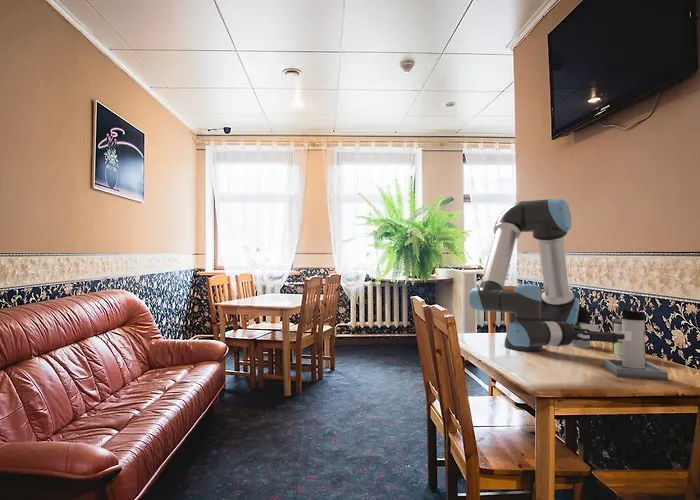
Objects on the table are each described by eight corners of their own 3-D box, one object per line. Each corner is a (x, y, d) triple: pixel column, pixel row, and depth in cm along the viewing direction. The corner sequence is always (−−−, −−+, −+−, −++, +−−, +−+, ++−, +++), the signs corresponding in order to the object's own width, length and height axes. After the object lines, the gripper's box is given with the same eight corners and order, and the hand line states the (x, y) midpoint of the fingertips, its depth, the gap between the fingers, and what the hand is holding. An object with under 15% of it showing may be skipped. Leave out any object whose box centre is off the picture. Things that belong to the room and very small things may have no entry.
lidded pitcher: (564, 343, 186) (564, 309, 186) (598, 344, 185) (598, 310, 185) (573, 347, 177) (573, 312, 178) (608, 348, 176) (608, 313, 176)
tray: (616, 376, 133) (616, 368, 133) (602, 365, 146) (602, 358, 146) (667, 380, 129) (667, 372, 129) (648, 369, 143) (648, 361, 143)
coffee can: (606, 353, 167) (606, 318, 167) (634, 354, 166) (633, 318, 166) (620, 359, 156) (620, 321, 157) (650, 360, 155) (649, 322, 156)
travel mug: (617, 367, 141) (616, 308, 142) (637, 367, 141) (636, 308, 141) (629, 371, 135) (628, 310, 135) (649, 372, 135) (649, 310, 135)
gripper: (531, 337, 145) (585, 336, 149) (583, 353, 121) (646, 351, 124) (531, 316, 145) (585, 315, 149) (583, 328, 121) (646, 326, 125)
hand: (613, 332), depth 137 cm, fingers open, 13 cm apart
